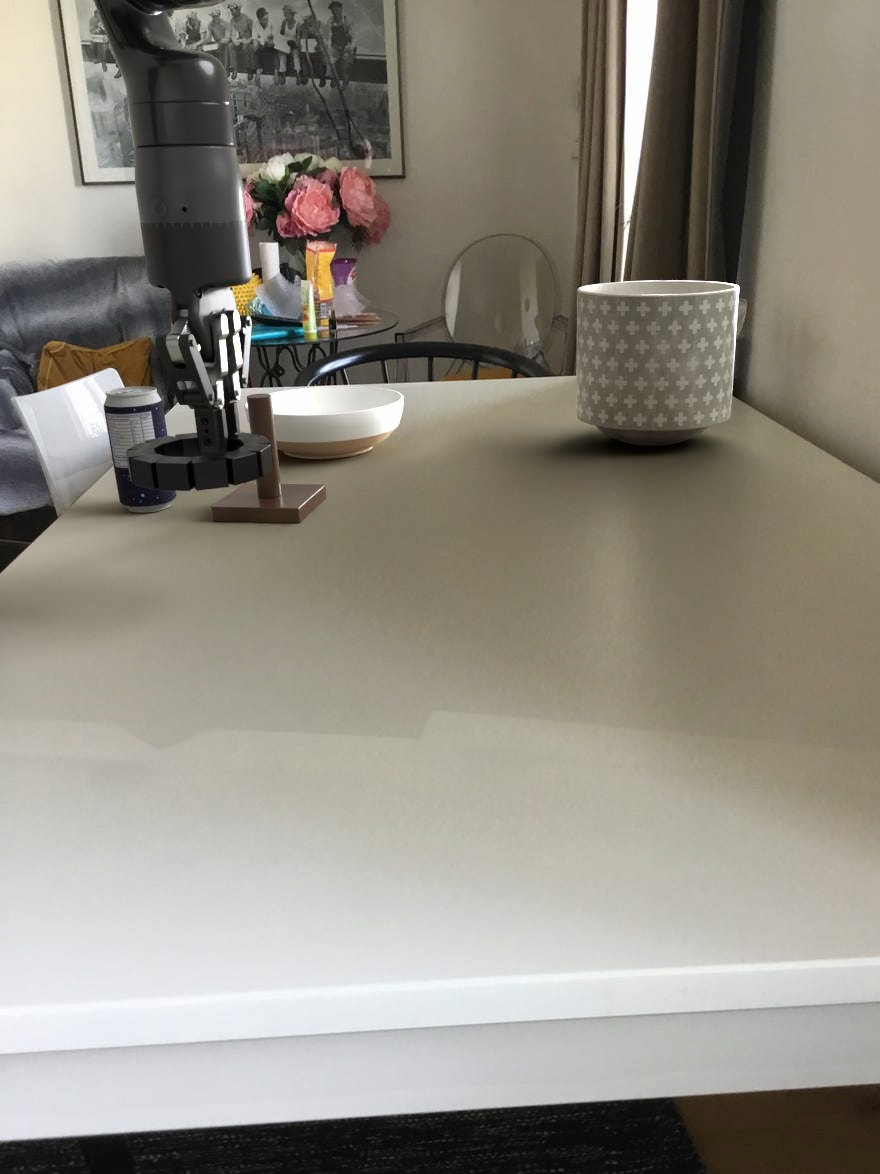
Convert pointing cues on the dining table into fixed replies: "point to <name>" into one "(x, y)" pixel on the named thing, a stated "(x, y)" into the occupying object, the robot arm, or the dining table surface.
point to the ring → (198, 462)
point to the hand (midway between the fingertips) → (221, 452)
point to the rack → (268, 482)
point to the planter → (655, 358)
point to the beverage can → (135, 441)
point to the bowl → (333, 420)
